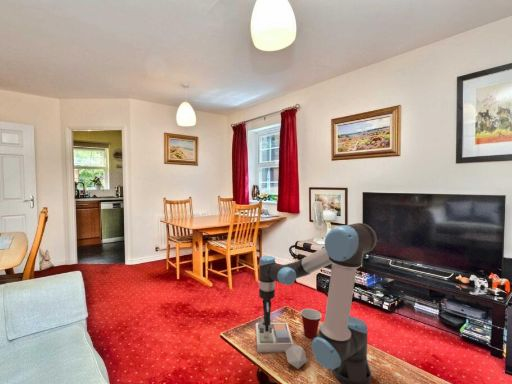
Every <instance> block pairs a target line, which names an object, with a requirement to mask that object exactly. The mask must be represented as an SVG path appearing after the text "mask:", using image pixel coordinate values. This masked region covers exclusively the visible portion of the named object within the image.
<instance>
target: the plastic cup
mask: <svg viewBox="0 0 512 384" xmlns="http://www.w3.org/2000/svg"><path fill="white" fill-rule="evenodd" d="M300 315H301V321H302V327H303V331H304V332H303V333H304V336H305V337H306V338H307V339H315V338H316V337H317V333H318V331H319V326H320V320H321V318H322V316H323V315H322V313H321V312H320V311H318V310H317V309H316V310H315V309H314V308H304V309H302V310H301V311H300Z"/></svg>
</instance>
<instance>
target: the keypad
mask: <svg viewBox="0 0 512 384" xmlns="http://www.w3.org/2000/svg"><path fill="white" fill-rule="evenodd" d="M273 324H285V327H286V330H287V331H288V334H289V343H277V341H276V336H275V334H274V329H273ZM271 327H272V335H273V341H274V343H260V329H259V322H255V337H256V339H255V340H256V352H257V353H258V354H263V353H264V354H268V353H275V354H276V353H286V352H285V351H286V350H287V349H288V348H289V347H290V346H291V345H293V344H294V343H295V342H294V340H293V337H292V333H291V331H290V326H289V324H288V322H271Z"/></svg>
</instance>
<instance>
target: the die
mask: <svg viewBox="0 0 512 384" xmlns="http://www.w3.org/2000/svg"><path fill="white" fill-rule="evenodd" d="M293 343H294V344H293V345H291V346H290V347H289V348H288V349H287V350H286V351H285V352H284V353H285V354H286V355H285V356H286V360H287V363H288V364H289V365H292V366H293V368H295V369H297V370H299V369H300V368H301V367H302V366H303V365H304V364H305V363H307V361H308V359H307V355H306V352H305V350H304V348H303V347H301V346H300V345H299V344H296V343H295V342H293Z"/></svg>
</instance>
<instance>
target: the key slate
mask: <svg viewBox="0 0 512 384" xmlns="http://www.w3.org/2000/svg"><path fill="white" fill-rule="evenodd" d="M275 336H276V341H277V343H289V334H288V331H287V330H275Z"/></svg>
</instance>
